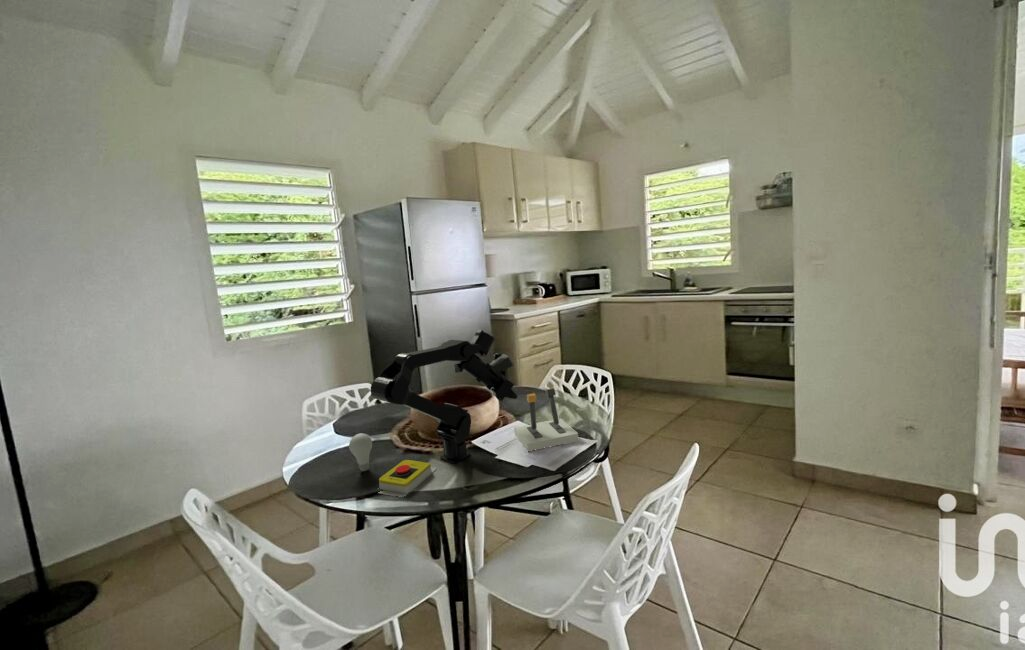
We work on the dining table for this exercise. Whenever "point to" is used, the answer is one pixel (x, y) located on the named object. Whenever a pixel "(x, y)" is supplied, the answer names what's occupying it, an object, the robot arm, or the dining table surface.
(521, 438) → the breaker panel
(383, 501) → the dining table surface
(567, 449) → the dining table surface
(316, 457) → the dining table surface
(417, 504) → the dining table surface
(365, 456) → the lightbulb
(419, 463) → the emergency button
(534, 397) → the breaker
